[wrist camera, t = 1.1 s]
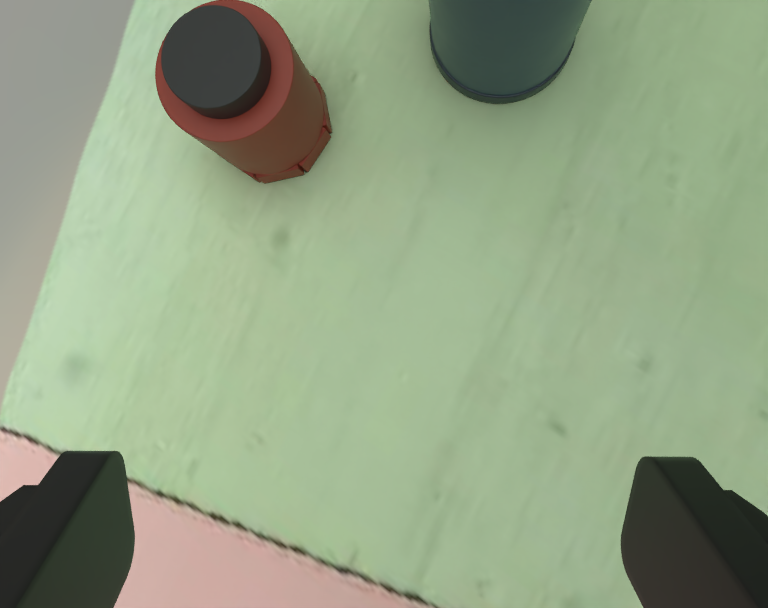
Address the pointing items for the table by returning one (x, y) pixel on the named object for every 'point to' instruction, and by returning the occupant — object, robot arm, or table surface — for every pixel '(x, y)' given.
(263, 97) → the lid
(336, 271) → the table surface
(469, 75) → the flask
